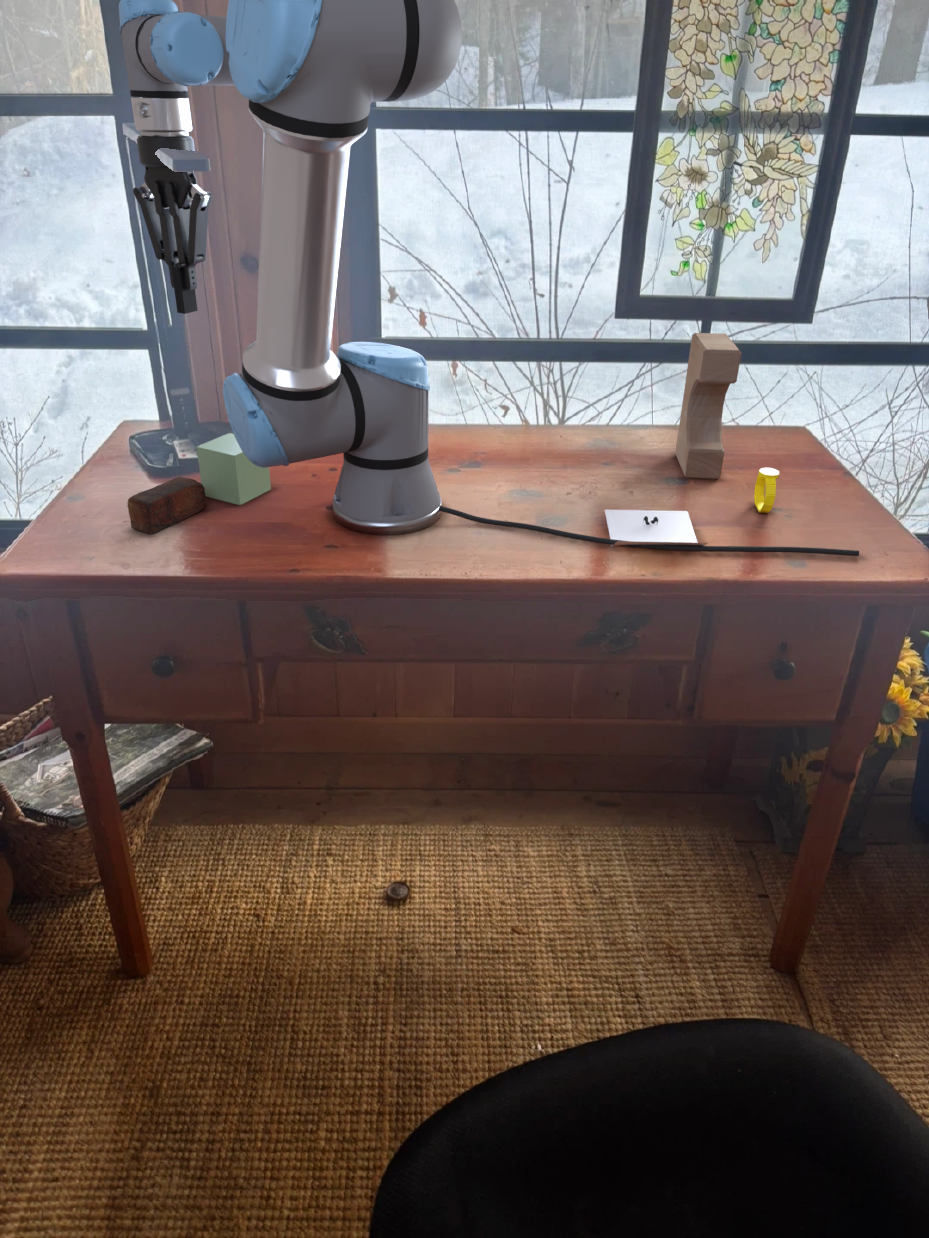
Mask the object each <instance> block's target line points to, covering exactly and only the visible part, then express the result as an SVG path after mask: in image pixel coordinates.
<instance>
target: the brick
mask: <svg viewBox="0 0 929 1238" xmlns="http://www.w3.org/2000/svg"><path fill="white" fill-rule="evenodd" d="M204 490H205V489H204V486H203V485H202V484H201V482H199V481H197V480H196V479H194V478H191V477H190V478H189V477H183V476H178V477H175V478H171V479H170V480H168V481H165V482H163V483H161V484H158V485H156V486H154V487H152V488H149V489H146V490H143V491H140V492H138V493H136V494H133V495H132V496H130V497H129V498H128V499H127V503H126V504H127V509H128V510H127V511H128V516H129V520H130V527H131V529H132V530H135V531H138V532H142V533H145V534H149V535H154V534H156V533H158V532H160V531H162V530H164V529H166V528H169V527H171V526H172V525H175V524H177V523H179V522H181V521H184V520H186V519H187V518H189V517H191V516H193V515H195V514H197V513H200V512H201V511H203V510H204V507H205V501H206V496H205V491H204Z"/></svg>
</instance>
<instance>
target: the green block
mask: <svg viewBox="0 0 929 1238" xmlns="http://www.w3.org/2000/svg"><path fill="white" fill-rule="evenodd" d="M195 447H196V454H197V462H198V469H199V477H200V483H201V484H202V485H203V486H204V489H205V490H204V491H205V498H210V499H214V500H218V501H222V502H225V503H229V504H233V505H236V506H237V505H238V506H242V505H244V504H246V503H248V502H250V501H251V500H254V499H255V498H258V497H260V496H261V495H263V494H265V493H267V492H269V491H271V490H272V487H271V486H272V484H271V474H270V473H271V472H270V467H265V468H264V467H258V466H256V465H254V464H253V463H252V462H250V461H249V460H248V458H247V457H246V456H245V455H244V453H243V452H242V450H241V448H240V446H239V444H238V442H237V440H236V438H235V436H234V433H233V432H232V433H231V432H228V433H226V434H223V435H221V436H218V437H216V438H214V439H211V440H209V441H206V442H205V443H202V444H200V445H197V446H195Z"/></svg>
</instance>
